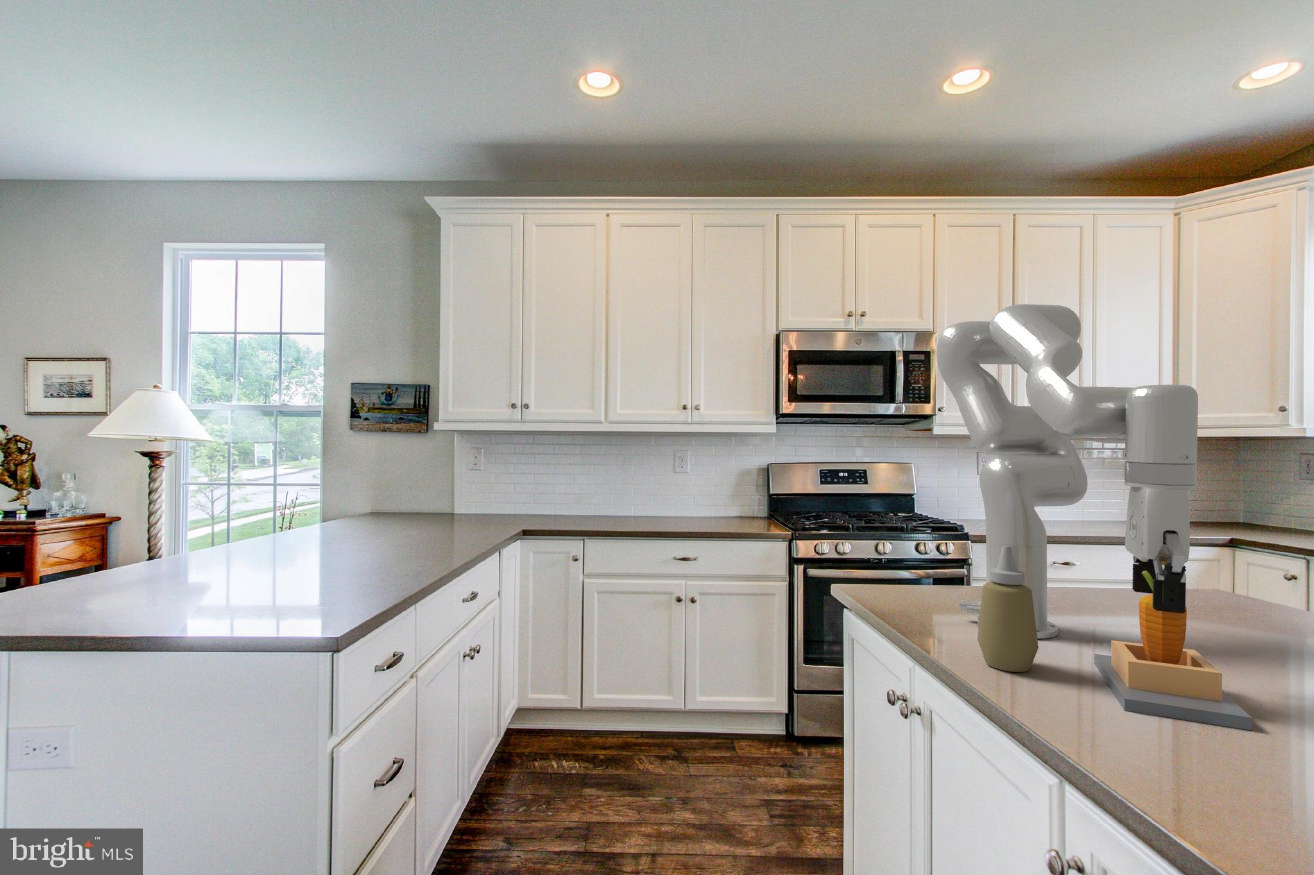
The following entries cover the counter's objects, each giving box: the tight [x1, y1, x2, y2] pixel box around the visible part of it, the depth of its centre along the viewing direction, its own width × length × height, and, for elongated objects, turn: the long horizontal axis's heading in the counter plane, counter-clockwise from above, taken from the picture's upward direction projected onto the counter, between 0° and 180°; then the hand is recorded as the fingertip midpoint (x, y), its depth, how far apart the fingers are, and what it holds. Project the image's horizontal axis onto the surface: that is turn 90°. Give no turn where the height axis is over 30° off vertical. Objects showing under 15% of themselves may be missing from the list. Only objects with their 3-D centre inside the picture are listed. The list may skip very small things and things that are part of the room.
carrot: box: [1138, 571, 1188, 665], centre depth 81 cm, size 5×5×15 cm
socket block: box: [1093, 639, 1253, 731], centre depth 81 cm, size 12×18×5 cm, turn 154°
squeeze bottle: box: [977, 546, 1039, 673], centre depth 91 cm, size 8×8×18 cm
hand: (1157, 601), depth 82 cm, fingers open, 9 cm apart
